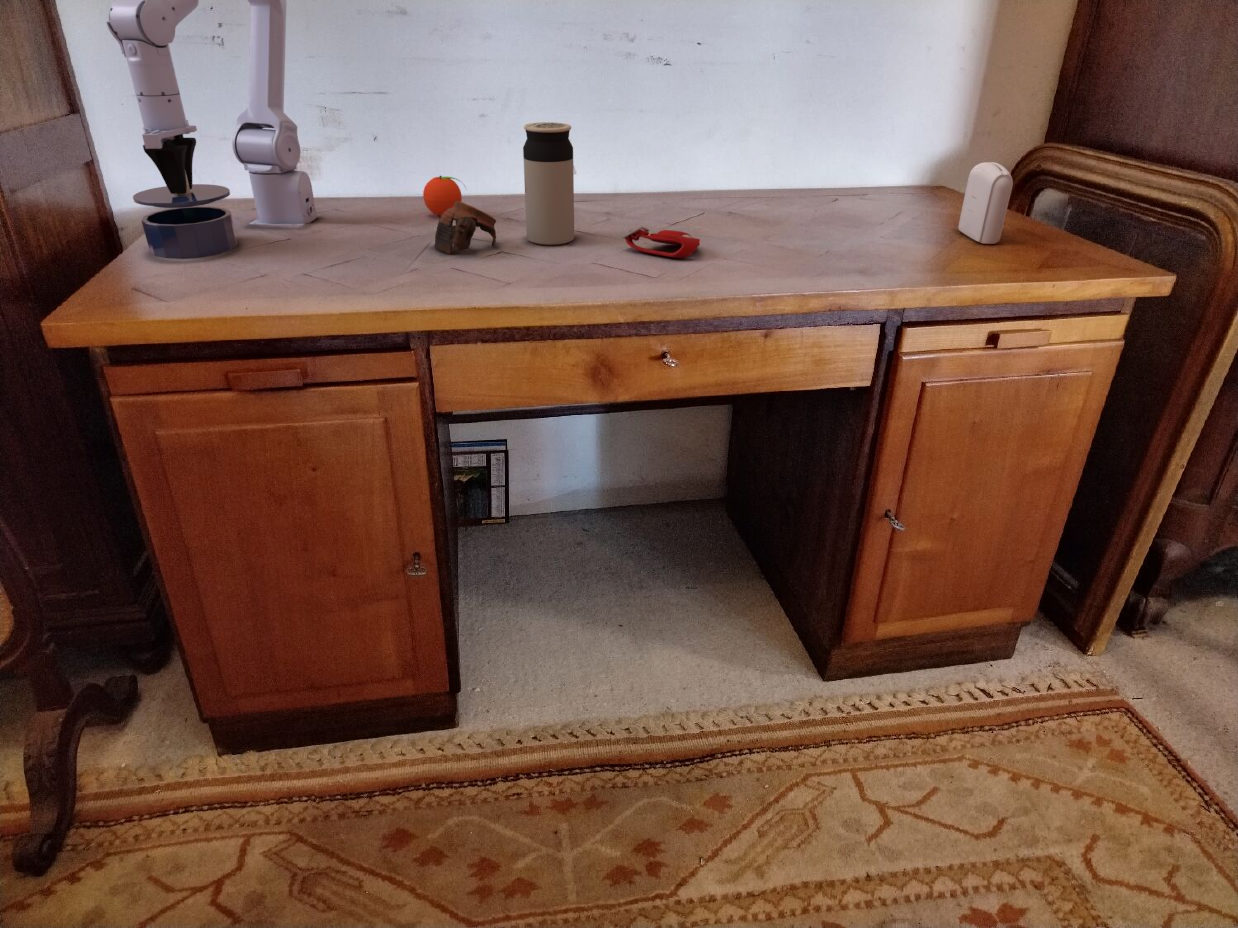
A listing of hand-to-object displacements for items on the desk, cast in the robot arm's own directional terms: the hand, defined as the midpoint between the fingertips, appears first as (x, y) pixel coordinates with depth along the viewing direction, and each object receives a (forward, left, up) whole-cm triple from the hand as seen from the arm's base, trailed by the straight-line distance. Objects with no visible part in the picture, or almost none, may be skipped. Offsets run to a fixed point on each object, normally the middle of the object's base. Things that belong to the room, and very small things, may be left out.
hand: (181, 191), depth 126 cm
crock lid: (0, 0, -1) cm, 1 cm away
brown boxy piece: (-42, -5, -9) cm, 43 cm away
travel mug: (-55, -12, -9) cm, 57 cm away
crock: (0, 0, -9) cm, 9 cm away
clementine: (-34, -27, -9) cm, 44 cm away
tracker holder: (-74, -7, -9) cm, 75 cm away
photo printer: (-129, -21, -9) cm, 131 cm away
